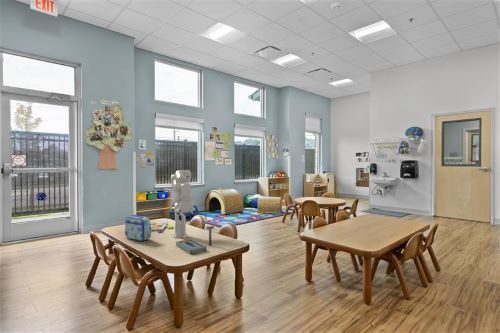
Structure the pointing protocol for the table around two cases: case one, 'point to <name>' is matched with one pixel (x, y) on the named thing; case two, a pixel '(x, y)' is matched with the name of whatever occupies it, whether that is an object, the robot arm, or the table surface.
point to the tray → (188, 250)
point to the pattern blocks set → (159, 227)
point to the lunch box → (137, 228)
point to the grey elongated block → (185, 242)
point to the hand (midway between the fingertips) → (185, 219)
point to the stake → (210, 234)
